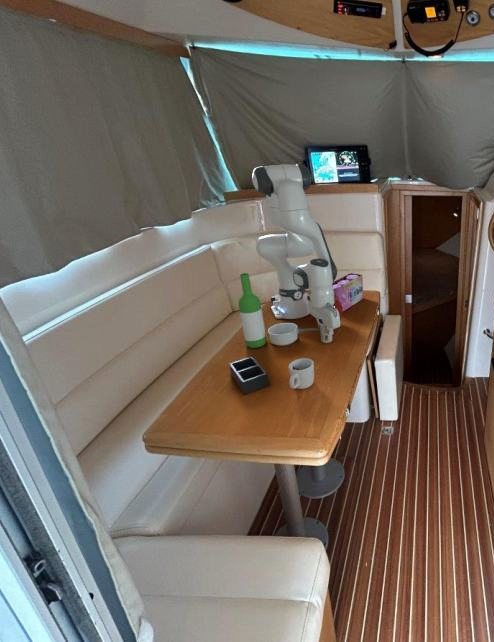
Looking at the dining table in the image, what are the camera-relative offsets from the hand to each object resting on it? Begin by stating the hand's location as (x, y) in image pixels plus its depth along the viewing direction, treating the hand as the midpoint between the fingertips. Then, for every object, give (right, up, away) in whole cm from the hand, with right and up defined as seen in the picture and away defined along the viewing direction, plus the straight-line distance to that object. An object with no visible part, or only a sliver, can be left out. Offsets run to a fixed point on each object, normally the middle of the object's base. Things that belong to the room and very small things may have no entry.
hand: (325, 330), depth 148 cm
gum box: (0, +10, +40) cm, 41 cm away
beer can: (0, -5, +2) cm, 5 cm away
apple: (-1, +1, +16) cm, 16 cm away
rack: (-19, -15, -25) cm, 35 cm away
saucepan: (-13, -4, +2) cm, 14 cm away
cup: (0, -16, -28) cm, 33 cm away
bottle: (-28, -5, -2) cm, 28 cm away
